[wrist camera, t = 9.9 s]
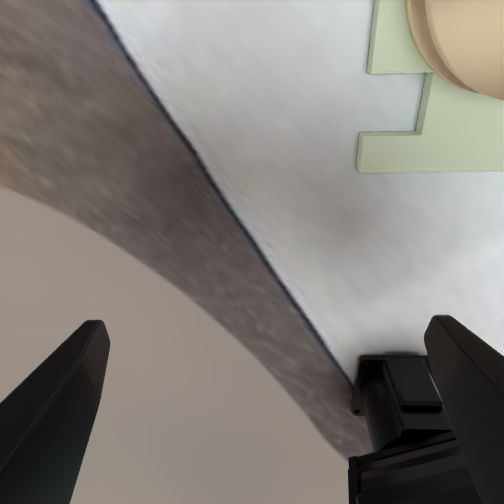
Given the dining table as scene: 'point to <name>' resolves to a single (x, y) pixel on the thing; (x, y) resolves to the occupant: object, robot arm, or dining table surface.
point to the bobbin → (461, 41)
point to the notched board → (429, 112)
